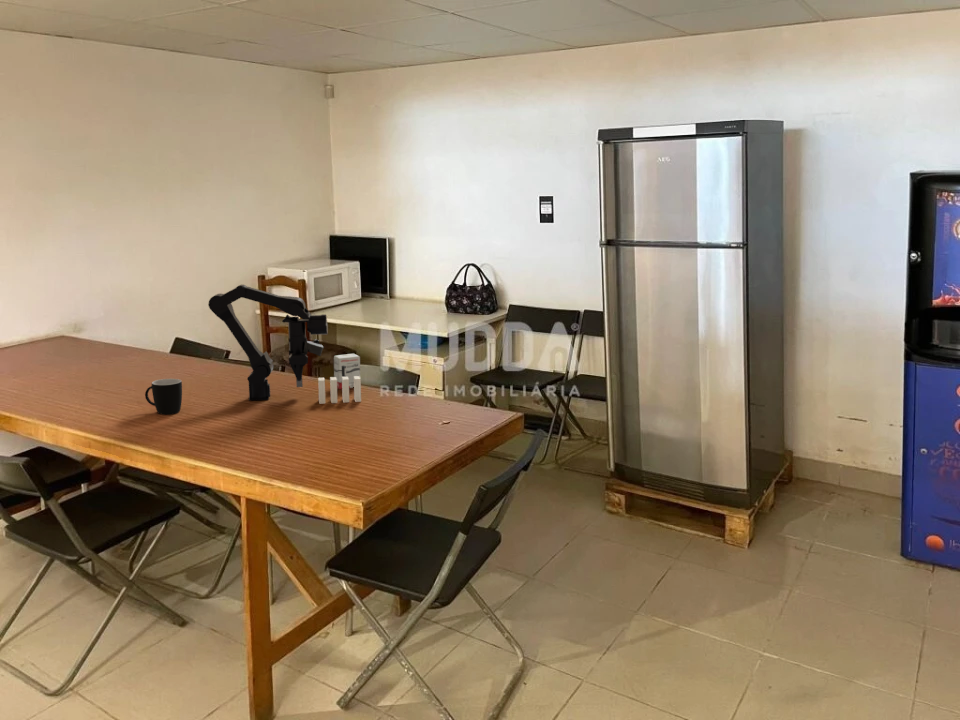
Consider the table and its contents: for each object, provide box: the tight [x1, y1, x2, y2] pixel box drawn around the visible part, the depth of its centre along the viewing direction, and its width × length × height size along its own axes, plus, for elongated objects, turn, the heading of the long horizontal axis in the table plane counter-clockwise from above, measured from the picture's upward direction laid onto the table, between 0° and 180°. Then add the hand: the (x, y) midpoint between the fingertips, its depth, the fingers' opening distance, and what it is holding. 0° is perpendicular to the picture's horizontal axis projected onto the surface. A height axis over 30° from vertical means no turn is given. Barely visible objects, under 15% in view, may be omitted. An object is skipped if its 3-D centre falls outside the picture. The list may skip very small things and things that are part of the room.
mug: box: [144, 378, 183, 416], centre depth 249 cm, size 12×9×10 cm
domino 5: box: [353, 375, 362, 403], centre depth 267 cm, size 2×4×8 cm, turn 14°
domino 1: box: [295, 376, 304, 388], centre depth 268 cm, size 2×4×8 cm, turn 14°
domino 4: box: [341, 377, 350, 404], centre depth 266 cm, size 2×4×8 cm, turn 14°
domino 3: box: [329, 376, 338, 404], centre depth 265 cm, size 2×4×8 cm, turn 14°
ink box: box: [333, 353, 361, 390], centre depth 285 cm, size 8×5×12 cm, turn 124°
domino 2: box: [317, 377, 326, 405], centre depth 264 cm, size 2×4×8 cm, turn 14°
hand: (299, 379), depth 269 cm, fingers closed on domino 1, 4 cm apart
